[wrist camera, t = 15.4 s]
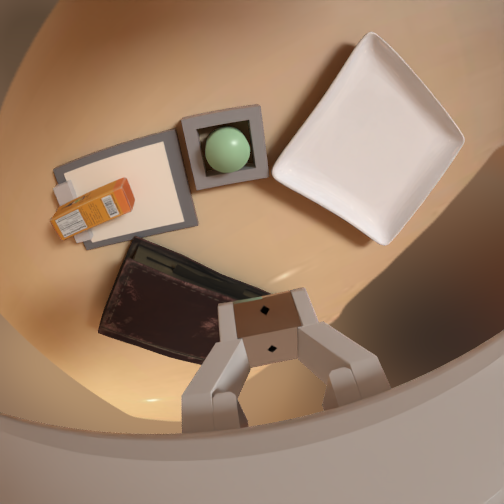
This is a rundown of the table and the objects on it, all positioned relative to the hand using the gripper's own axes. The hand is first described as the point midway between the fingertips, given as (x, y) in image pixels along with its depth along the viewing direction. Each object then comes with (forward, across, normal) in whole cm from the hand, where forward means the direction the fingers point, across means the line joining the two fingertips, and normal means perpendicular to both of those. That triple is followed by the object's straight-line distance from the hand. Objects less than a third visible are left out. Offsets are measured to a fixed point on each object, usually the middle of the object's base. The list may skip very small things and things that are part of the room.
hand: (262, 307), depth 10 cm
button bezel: (+24, 0, 0) cm, 24 cm away
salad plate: (+25, -18, +2) cm, 31 cm away
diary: (+24, +10, +23) cm, 34 cm away
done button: (+23, 0, 0) cm, 23 cm away
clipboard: (+24, +13, +3) cm, 27 cm away
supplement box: (+21, +11, +3) cm, 24 cm away
